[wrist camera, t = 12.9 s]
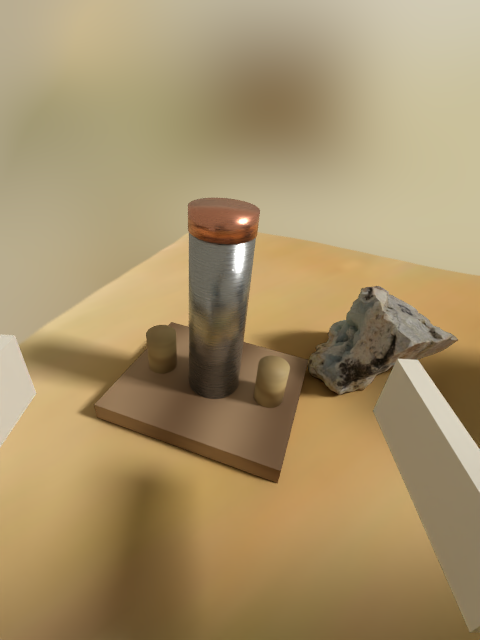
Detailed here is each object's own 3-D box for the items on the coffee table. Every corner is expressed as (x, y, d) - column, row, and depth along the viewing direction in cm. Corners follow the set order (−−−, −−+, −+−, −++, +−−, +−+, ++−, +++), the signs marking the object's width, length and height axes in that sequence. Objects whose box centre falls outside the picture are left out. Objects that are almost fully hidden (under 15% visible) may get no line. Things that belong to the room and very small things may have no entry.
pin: (245, 371, 24) (267, 205, 18) (229, 406, 21) (247, 223, 15) (200, 357, 25) (205, 194, 18) (178, 390, 22) (174, 209, 16)
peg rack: (305, 371, 27) (316, 331, 24) (277, 483, 19) (289, 439, 16) (171, 333, 29) (170, 294, 27) (97, 417, 21) (86, 371, 19)
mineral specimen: (328, 388, 32) (410, 456, 24) (275, 345, 29) (348, 406, 20) (391, 312, 32) (497, 351, 23) (346, 259, 29) (452, 281, 20)
